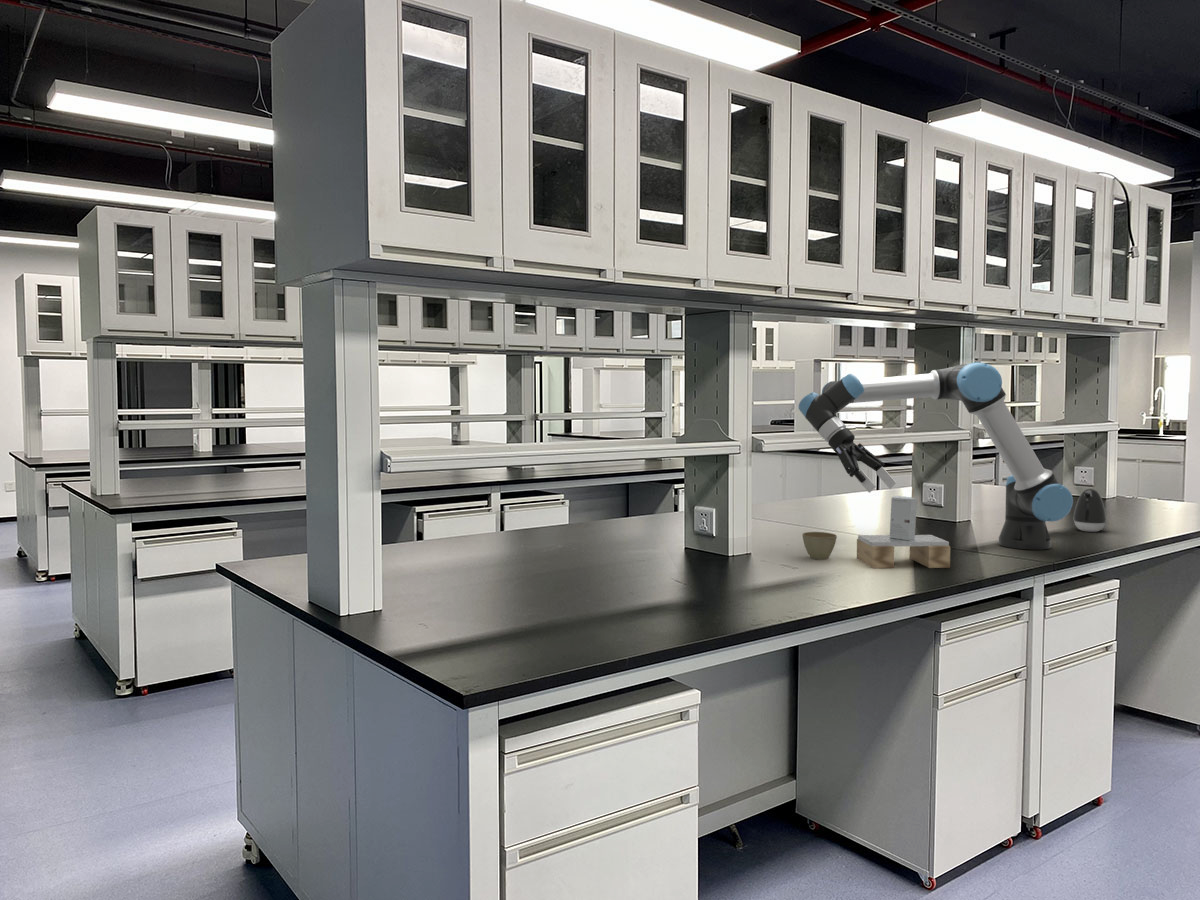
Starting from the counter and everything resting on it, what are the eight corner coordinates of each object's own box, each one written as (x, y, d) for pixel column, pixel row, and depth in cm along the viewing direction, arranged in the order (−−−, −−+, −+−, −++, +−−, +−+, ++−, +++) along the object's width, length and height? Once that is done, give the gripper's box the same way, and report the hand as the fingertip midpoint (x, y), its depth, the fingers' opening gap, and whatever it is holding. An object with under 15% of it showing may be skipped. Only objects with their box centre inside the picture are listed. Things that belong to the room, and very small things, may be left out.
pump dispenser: (1068, 530, 298) (1069, 488, 297) (1078, 527, 305) (1079, 486, 304) (1100, 534, 291) (1101, 491, 290) (1109, 530, 298) (1111, 488, 297)
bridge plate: (931, 538, 247) (931, 534, 247) (948, 546, 235) (948, 541, 235) (858, 539, 247) (858, 535, 247) (871, 546, 235) (872, 542, 235)
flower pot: (798, 559, 247) (799, 535, 246) (805, 553, 256) (806, 530, 255) (833, 562, 242) (833, 538, 242) (838, 556, 252) (839, 533, 251)
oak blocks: (929, 558, 249) (929, 538, 248) (949, 567, 235) (950, 546, 234) (856, 558, 248) (856, 538, 248) (872, 568, 234) (873, 547, 234)
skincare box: (889, 538, 242) (889, 496, 241) (895, 536, 245) (896, 495, 244) (909, 540, 237) (910, 498, 237) (916, 538, 241) (917, 497, 240)
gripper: (848, 441, 265) (892, 492, 255) (808, 445, 247) (854, 499, 237) (864, 425, 261) (910, 476, 251) (825, 428, 243) (872, 482, 233)
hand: (883, 487), depth 244 cm, fingers open, 13 cm apart
